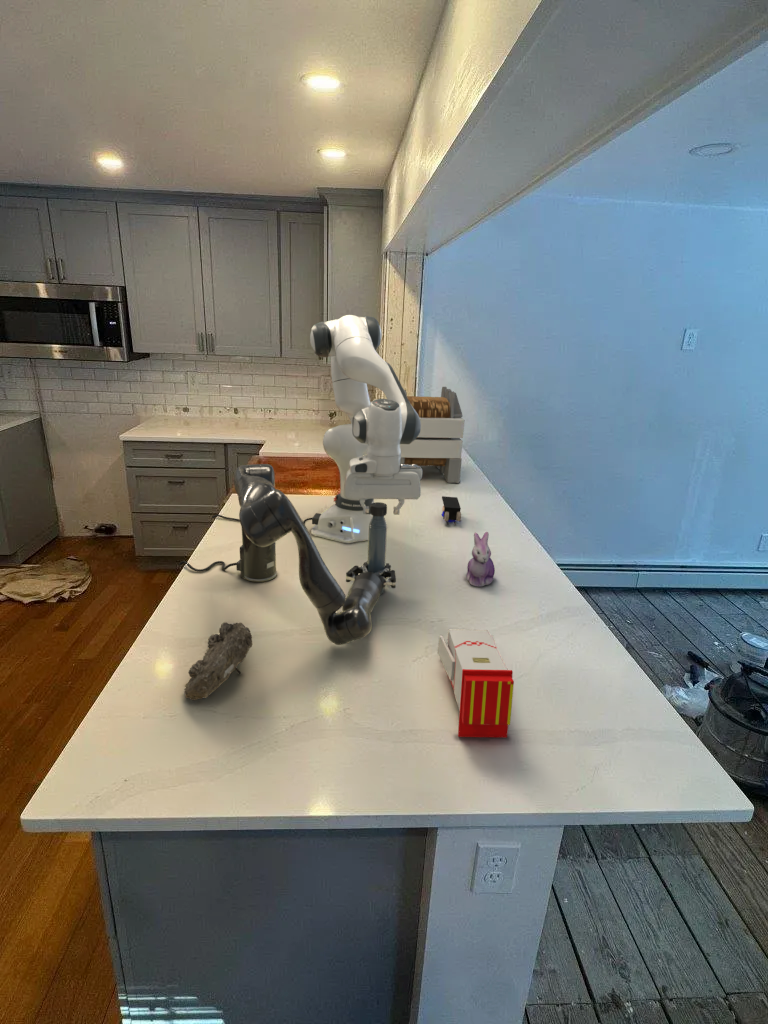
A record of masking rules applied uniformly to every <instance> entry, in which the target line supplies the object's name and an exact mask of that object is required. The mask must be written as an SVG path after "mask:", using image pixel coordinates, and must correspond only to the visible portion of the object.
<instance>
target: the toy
mask: <svg viewBox="0 0 768 1024" xmlns="http://www.w3.org/2000/svg"><path fill="white" fill-rule="evenodd" d="M446 640H447V643H446V641H445V639H444V636H443V635H442V634H439V637H438V646H437V656H438V657H439V659H440V661H441V663H442V666H443V668H444V670H445V672H446V674H447V677H448V679H449V681H450V684H451V687H452V690H453V693H454V697H455V701H456V705H457V708H458V711H459V714H458V715H459V716H458V730H457V731H458V732H457V737H458V738H508V731H509V726H510V725H511V717H512V707H513V697H514V696H513V695H514V684H515V680H514V679H513V673H514V671H513V670H512V669H508V667H507V665H506V662H505V661H504V659H503V658H502V655H501V653H500V651H499V649H498V647H497V643H496V639H495V637H494V635H493V634H491V632H490V631H489V629H467V628H466V629H465V628H463V629H461V628H460V629H459V628H448V630H447V639H446Z"/></svg>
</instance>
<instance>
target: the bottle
mask: <svg viewBox="0 0 768 1024" xmlns="http://www.w3.org/2000/svg"><path fill="white" fill-rule="evenodd" d="M387 537H388V524H387V521H386V518H385V516H373V517H372V519H371V521H370V523H369V532H368V540H367V559H366V562H367V571H368V572H372V573H377V572H378V571H380V570H383V569H384V568H385V566H386V561H387V560H386V559H387ZM384 592H385V587H383V588H382V591H381V593H380V595H383V594H384Z"/></svg>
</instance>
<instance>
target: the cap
mask: <svg viewBox="0 0 768 1024" xmlns="http://www.w3.org/2000/svg"><path fill="white" fill-rule="evenodd" d="M370 513H371V515H373V516H384V517H385V516H387V514H388V504H386V503H385V502H380V501H377V502H375V501H374V503H372V504H371V507H370Z"/></svg>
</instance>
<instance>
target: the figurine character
mask: <svg viewBox="0 0 768 1024" xmlns="http://www.w3.org/2000/svg"><path fill="white" fill-rule="evenodd" d="M441 500H442V504H443V506H442V507H441V511H442V513H441V516H442V519H443V520H444V522H445V523H446V525H447V526H450V525H449V523H453V525H454V526H457V522H461V519H462V512H461V510H462V508H461V505H460V502H459V501H460V500H459V499H458V497H457V496H443V495H442V496H441Z"/></svg>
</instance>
